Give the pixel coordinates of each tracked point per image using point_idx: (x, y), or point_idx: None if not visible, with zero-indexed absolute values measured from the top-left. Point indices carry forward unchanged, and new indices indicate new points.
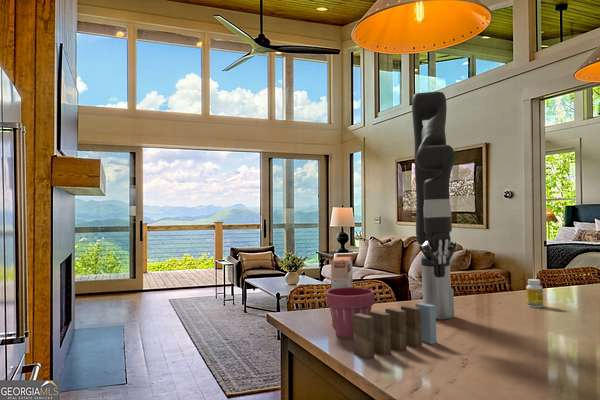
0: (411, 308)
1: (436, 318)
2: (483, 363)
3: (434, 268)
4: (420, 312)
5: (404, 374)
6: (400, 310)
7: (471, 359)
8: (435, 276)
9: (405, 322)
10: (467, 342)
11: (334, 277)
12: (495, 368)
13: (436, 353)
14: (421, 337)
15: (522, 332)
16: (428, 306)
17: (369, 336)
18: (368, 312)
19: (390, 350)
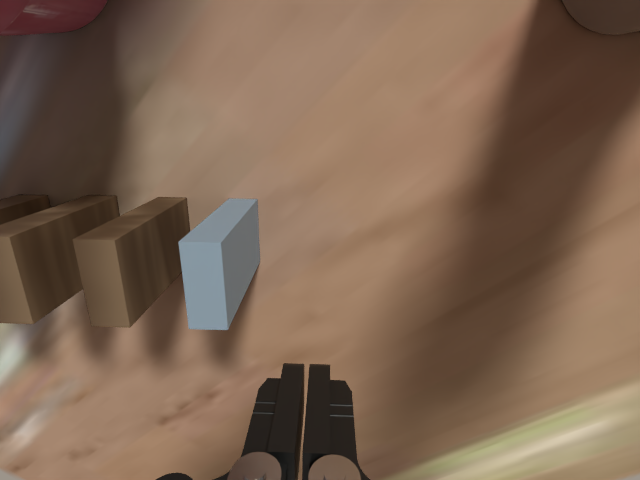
0: (88, 306)
1: (566, 1)
2: (219, 432)
3: (250, 431)
4: (137, 317)
5: (8, 383)
6: (17, 306)
7: (219, 404)
8: (284, 367)
9: (68, 298)
10: (338, 315)
11: None
12: (214, 460)
13: (179, 329)
14: (181, 271)
15: (573, 347)
16: (188, 322)
17: None
18: (11, 26)
19: None
